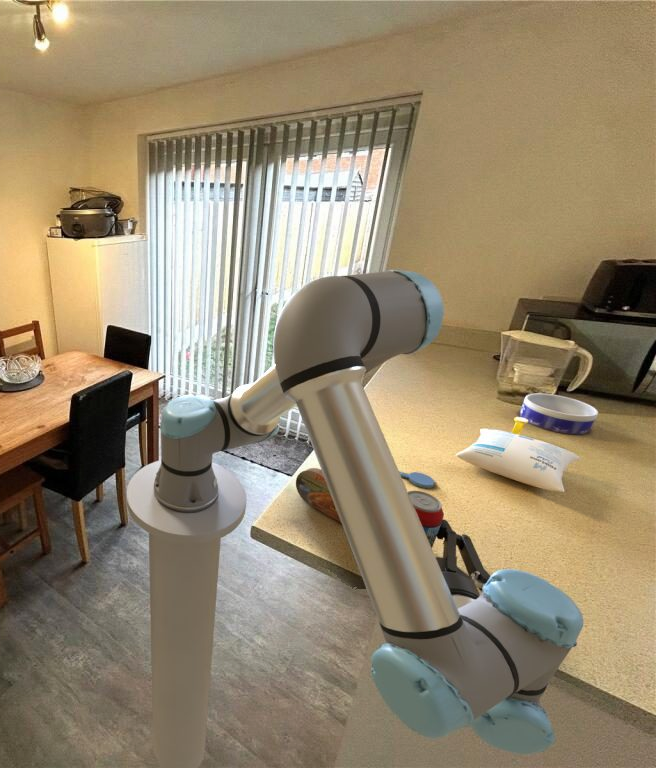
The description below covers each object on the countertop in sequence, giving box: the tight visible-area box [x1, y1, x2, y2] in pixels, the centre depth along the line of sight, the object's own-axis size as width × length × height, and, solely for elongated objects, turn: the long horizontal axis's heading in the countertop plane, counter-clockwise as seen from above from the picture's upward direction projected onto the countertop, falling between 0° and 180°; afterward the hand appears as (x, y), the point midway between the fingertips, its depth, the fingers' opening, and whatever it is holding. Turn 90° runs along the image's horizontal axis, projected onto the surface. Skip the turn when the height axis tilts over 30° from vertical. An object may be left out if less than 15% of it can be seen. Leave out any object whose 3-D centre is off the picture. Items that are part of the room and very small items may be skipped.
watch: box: [511, 416, 529, 435], centre depth 108 cm, size 6×3×6 cm, turn 129°
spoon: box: [399, 471, 435, 489], centre depth 96 cm, size 19×5×1 cm, turn 53°
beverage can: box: [407, 490, 445, 549], centre depth 72 cm, size 7×7×12 cm
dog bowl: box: [519, 392, 599, 435], centre depth 116 cm, size 15×15×6 cm
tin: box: [295, 467, 342, 524], centre depth 83 cm, size 15×3×8 cm, turn 37°
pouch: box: [455, 428, 581, 493], centre depth 95 cm, size 8×19×20 cm
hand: (407, 505), depth 76 cm, fingers closed on beverage can, 7 cm apart
